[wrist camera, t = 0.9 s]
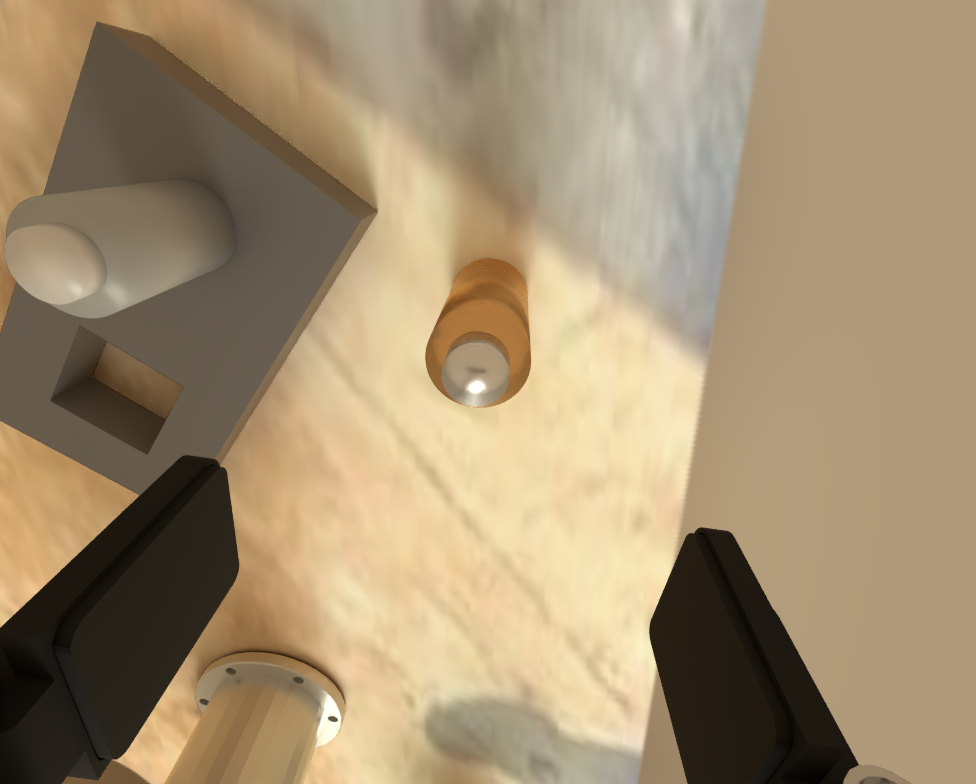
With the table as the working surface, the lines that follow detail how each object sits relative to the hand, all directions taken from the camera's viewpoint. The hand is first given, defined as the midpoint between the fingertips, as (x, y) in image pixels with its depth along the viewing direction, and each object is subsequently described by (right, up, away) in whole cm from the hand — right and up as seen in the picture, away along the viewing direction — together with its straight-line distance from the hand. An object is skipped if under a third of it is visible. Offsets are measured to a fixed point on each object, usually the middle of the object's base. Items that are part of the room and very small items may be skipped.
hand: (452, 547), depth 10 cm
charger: (-16, +8, +17) cm, 25 cm away
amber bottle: (+1, +8, +16) cm, 18 cm away
